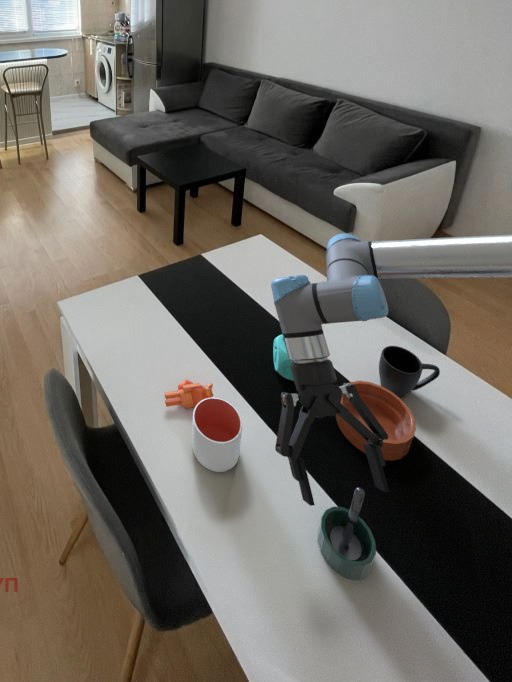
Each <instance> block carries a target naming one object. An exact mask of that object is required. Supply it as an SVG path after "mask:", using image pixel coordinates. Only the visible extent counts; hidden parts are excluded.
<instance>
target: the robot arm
mask: <svg viewBox="0 0 512 682" xmlns="http://www.w3.org/2000/svg"><path fill="white" fill-rule="evenodd" d="M325 260H326V262H325V263H326V281H321V282H315V283H314V282H313V283H311V281H310V279H309V277H308V275H306V274H297V275H290V276H283V277H277V278H275V279H273V280H271V283H270V288H271V292H272V297H273V305H274V307H275V310H276V315H277V318H278V322H279V325H280V330H281V333H282V334H283V337H284V342H285V346H286V350H287V354H288V358H289V359H290V360H292V361H293V362H292V363H291V365H290V367H291V371H292V375H293V379H294V381H293V383H294V385H295V393H289V392H285V391H282V392H281V393H280V401H281V411H280V418H279V421H278V423H279V424H278V429H277V430H278V431H277V435H276V439H275V447H274V449H275V452H277V453H278V454H279V455H280V456H282V457H284V458H285V457H286V458H287V459H288V465H289V467H290V473H291V476H292V478H293V479H294V480H295V481H296V482H298V485H299V489H300V493H301V497H302V501H304V502H305V503H306V504H308V505H309V506H310V507H312V506H315V501H314V500H315V499H314V496H313V493H312V492H313V491H312V488H311V484H310V481H309V480H310V479H309V476H308V471H307V467H306V463H305V459H304V458H303V457H301V456H300V454H301V451H302V448H303V447H304V444H305V441H306V439H307V436H308V434H309V431H310V428H311V426H312V424H313V423H314V422H315V419H316V418H318V419H323V418H326V417H336V413H337V414H338V415H339V416H341V417H342V418H343V419H344V420H345V421H346V422H347V423H348V424H349V425H350V426H351V427H352V428H354V429H355V430H356V431H357V432H358V433H359V434H360V435H361V436H362V437H363V438H364V439H365V440H367V441H368V443H369V444H368V443H364V444H363V445H364V448H365V452H366V454H365V456H366V458H367V462H368V466H369V469H370V472H371V475H372V480H373V483H374V486H375V488H376V489H378V490H380V491H382V492H383V493H389V492H390V488H389V485H388V481H387V478H386V475H385V471H384V468H383V467H386V460H384V457H383V453H382V450H381V447H382V446H383V440H384V439H385V440H387V439H388V437H389V436H388V434H387V432H386V431H385V430H384V428H383V427H382V426H381V424H380V423H379V422H378V420H377V419H376V418H375V416H374V415H373V414H372V413H371V411H370V410H369V409H368V407H367V406H366V405H365V403H364V402H363V401H362V399H361V398H360V396H359V394H358V391H357V389H356V386H355V385H353V384H349V383H350V382H343V384H342V385H339V384H338V382H337V381H338V380H337V379H338V378H337V375H336V371H335V367H334V364H333V361H332V360H330V359H329V358H328V357H330V356H331V353H330V349H329V347H328V344H327V339H326V337H325V332H324V330H323V329H324V328H323V325H330V324H337V323H338V324H339V323H352V322H368V321H371V320H376V319H383V318H386V317H387V316H388V315H389V305H388V301H387V298H386V295H385V292H384V289H383V286H382V284H381V282H380V280H379V279H461V278H462V279H467V278H469V279H470V278H472V279H473V278H478V279H479V278H480V279H481V278H512V234H511V233H510V234H489V235H471V236H470V235H469V236H451V237H450V236H447V237H433V238H430V237H429V238H414V239H413V238H412V239H411V238H410V239H392V240H391V239H390V240H371V241H370V240H369V241H362V240H361V239H360V238H359V237H358V236H356V235H353V234H350V233H338V234H335V235H334V236H332V237H331V238H329V240H328V242H327V245H326V251H325ZM342 394H343V395H344V396H345V397H347V398H348V400H349V401H350V403H351V404H352V405H353V407H354V408H355V409H356V411H357V412H358V413H359V415H360V416H361V417H362V419H363V420H364V421H365V423H366V424H367V425H368V427H369V428H370V429H371V431H372V432H373V433H372V432H371V431H370V430H369V429H368V428H367V427H366V426H364V425H363V424H362V423H361V422H360V421H359V420H358V419H357V418H356V417H355V416H353V415H352V414H351V413H350V412H349V410H348V409H347V408H346V407H345V406H344V405H342V404H341V403H340V402H341V398H342ZM297 402H298V403H299V404H300V405H301V407H300V410H299V413H298V415H299V416H298V418H297V421H296V423H295V426H294V429H293V431H292V428H293V421H294V415H295V407H296V406H297Z"/></svg>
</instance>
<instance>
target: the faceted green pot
mask: <svg viewBox="0 0 512 682" xmlns="http://www.w3.org/2000/svg"><path fill="white" fill-rule="evenodd" d="M349 510H350V509H348V508H346V507H343V506H331V507H329V508H327V509H325V511H324V512H323V514H322V516H321V519H320V521H319V522H320V523H319V526H318V529H317V530H318V531H317V544H318V547H319V551H320V553H321V556H322V557H323V559H324V560H325V562H326V563H327V564H328V566H329V567H330V568H331V569H332V570H333V571H334V572H335V573H337V574H338V575H340V576H342V577H343V578H345V579H348V580H352V581H360V580H363V579H364V578H366V577H368V575H369V574H370V571H371V569H372V567H373V564H374V561H375V557H376V555H377V544H376V543H377V542H376V540H375V538H374V535H373V533H372V530H371V528H370V527H369V526H368V524H367V523H366V522H365V521H364V519H363V518H361V517H360V516H359V517H358V520H357V524H356V527H355V531H354V534H355V535H356V537H357V538H358V540H359V542H360V544H361V548H362V554H361V557H360V560H359V561H352V560H350V559H348V558H346V557H344V556H342V555H341V554H340V553H339V552H338V551H337V550H336V549H335V548H334V547H333V545H332V544H331V542H330V541H329V535H330V531H331V529H332V528H333V527H335V526H344V527H345V524H346V521H347V517H348V514H349Z"/></svg>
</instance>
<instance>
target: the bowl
mask: <svg viewBox="0 0 512 682" xmlns="http://www.w3.org/2000/svg"><path fill="white" fill-rule="evenodd" d="M348 383H349V384H353V385H355V386H356V389H357V391H358V394H359V396H360V398H361V399H362V401H363V402H364V403H365V405H366V406H367V407H368V409H369V410H370V411H371V413H372V414H373V415H374V416H375V418H376V419H377V420H378V422H379V423H380V424H381V426H382V427H383V428H384V430H385V431H386V432H387V434H388V436H389V437H388V439H387V440H385V439H384V440H383V446H382V447H381V450H382V453H383V457H384V460H385V461H390V462H391V461H392V462H393V461H398V460H401V459H403V458H404V457H405V456H406V455H408V454H409V451H410V448H411V446H412V443H413V440H414V437H415V434H416V431H417V425H416V419H415V417H414V414H413V413H412V411H411V409H410V408H409V407H408V405H407V404H406V403H405V402H404V401H403V399H402V398H399V397H398V396H396V395H395V394H394V393H393V392H391V391H389V390H388V389H386V388H384V387H382V386H381V384H377V383H375V382H371V381H365V380H356V381H351V382H350V381H349V382H348ZM340 403H341V404H342V405H344V406H345V407H346V408H347V409H348V410H349V412H350V413H351V414H352V415H353V416H355V417H356V418H357V419H358V420H359V421H360V422H361V423H362V424H363V425H364V426H366V427H367V428H368V429H369V430H370V431H371V429H370V428H369V427H368V425H367V424H366V423H365V421H364V420H363V419H362V417H361V416H360V415H359V413H358V412H357V411H356V409H355V408H354V407H353V405H352V404H351V403H350V401H349V400H348V398H347V397H345V396H344V395H343V394H342V398H341V402H340ZM335 420H336V423H337V426H338V428H339V430H340V431H341V433H342V434H343V437H345V438H346V439H347V441H349V442H350V443H351V444H352V445H353V446H354V448H356V449H357V450H359V451H361V452H362V453H364V454H365V455H366V452H365V448H364V445H363V444H364V443H368V441H367V440H365V439H364V438H363V437H362V436H361V435H360V434H359V433H358V432H357V431H356V430H355V429H354V428H352V427H351V426H350V425H349V424H348V423H347V422H346V421H345V420H344V419H343V418H342V417H341V416H339V415H338V414H337V413H336V414H335ZM371 432H372V431H371ZM372 433H373V432H372ZM368 444H369V443H368Z"/></svg>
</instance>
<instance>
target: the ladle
mask: <svg viewBox="0 0 512 682" xmlns="http://www.w3.org/2000/svg"><path fill="white" fill-rule="evenodd" d="M365 496H366V492H365V490H364V489H363V488H362V487H361V486H357V487H355V489H354V493H353V497H352V500H351V504H350V507H349V509H348V510H349V514H348V517H347V521H346V524H345V527H344V526H335V527H333V528H332V529H331V531H330V535H329V541H330V542H331V544H332V545H333V547H334V548H335V549H336V550H337V551H338V552H339V553H340V554H341V555H342V556H344V557H346V558H348V559H350V560H352V561H359V560H360V557H361V554H362V548H361V544H360V542H359V540H358V538H357V537H356V535H355V534H354V531H355V527H356V524H357V520H358V517H360V514H361V510H362V507H363V504H364V500H365Z"/></svg>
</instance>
